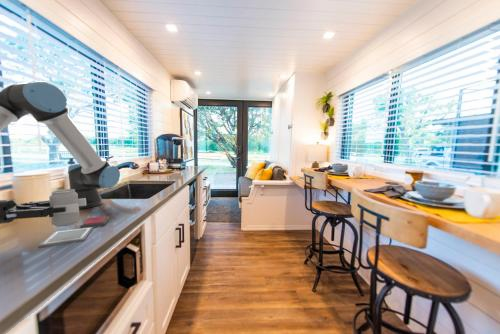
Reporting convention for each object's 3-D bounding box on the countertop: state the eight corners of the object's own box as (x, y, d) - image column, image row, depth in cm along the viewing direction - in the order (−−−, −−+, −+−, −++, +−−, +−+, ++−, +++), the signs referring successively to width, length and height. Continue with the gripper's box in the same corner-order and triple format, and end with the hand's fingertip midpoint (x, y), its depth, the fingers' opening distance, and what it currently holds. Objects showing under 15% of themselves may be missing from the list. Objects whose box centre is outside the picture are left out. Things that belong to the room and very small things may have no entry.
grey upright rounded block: (63, 228, 71) (60, 193, 70) (46, 226, 73) (42, 192, 72) (85, 220, 79) (82, 188, 78) (68, 219, 80) (65, 187, 79)
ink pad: (87, 221, 92) (87, 217, 92) (109, 218, 95) (109, 215, 95) (80, 228, 84) (80, 224, 84) (104, 225, 87) (104, 222, 87)
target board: (55, 233, 80) (55, 231, 80) (93, 228, 85) (93, 226, 84) (38, 247, 69) (38, 245, 69) (84, 240, 74) (83, 238, 73)
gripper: (15, 214, 78) (91, 207, 87) (-30, 235, 59) (72, 224, 68) (13, 194, 77) (89, 189, 86) (-34, 209, 59) (70, 201, 67)
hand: (82, 204), depth 77 cm, fingers closed on grey upright rounded block, 7 cm apart
